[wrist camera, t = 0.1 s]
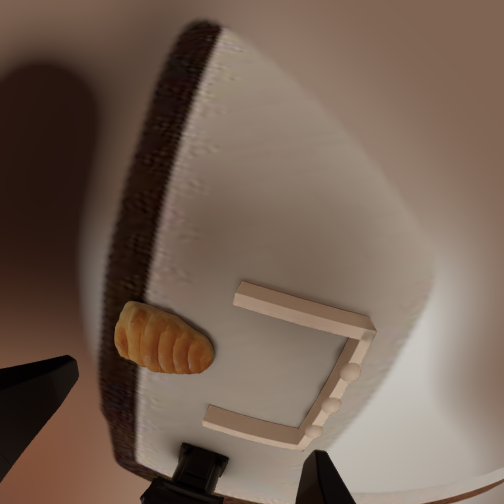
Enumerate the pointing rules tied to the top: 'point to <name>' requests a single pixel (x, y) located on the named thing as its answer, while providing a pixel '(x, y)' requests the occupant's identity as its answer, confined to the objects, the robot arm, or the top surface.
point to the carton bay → (339, 379)
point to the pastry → (161, 341)
